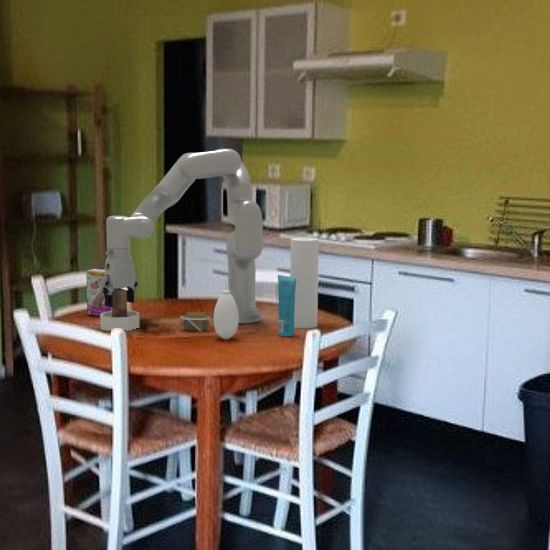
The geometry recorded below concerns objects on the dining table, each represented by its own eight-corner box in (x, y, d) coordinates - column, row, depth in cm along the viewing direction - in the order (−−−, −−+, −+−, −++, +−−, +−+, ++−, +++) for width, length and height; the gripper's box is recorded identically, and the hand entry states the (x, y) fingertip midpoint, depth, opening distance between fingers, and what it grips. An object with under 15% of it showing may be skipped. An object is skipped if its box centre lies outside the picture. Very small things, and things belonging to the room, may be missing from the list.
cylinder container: (285, 323, 278) (285, 236, 273) (309, 321, 282) (310, 235, 277) (297, 329, 269) (298, 239, 265) (322, 326, 273) (323, 238, 269)
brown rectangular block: (127, 325, 270) (126, 289, 268) (121, 326, 268) (121, 290, 266) (117, 323, 273) (117, 288, 271) (112, 324, 271) (111, 289, 269)
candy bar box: (86, 315, 290) (85, 270, 287) (95, 313, 294) (94, 268, 292) (111, 318, 284) (110, 272, 282) (120, 316, 289) (119, 270, 286)
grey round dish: (147, 326, 272) (146, 313, 271) (119, 332, 262) (119, 319, 261) (120, 321, 279) (120, 309, 278) (92, 328, 269) (92, 314, 268)
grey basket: (218, 336, 259) (218, 316, 258) (163, 335, 261) (163, 315, 260) (225, 328, 271) (224, 309, 270) (172, 327, 273) (172, 308, 272)
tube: (300, 335, 260) (300, 276, 257) (292, 337, 256) (292, 278, 253) (280, 332, 264) (280, 274, 261) (272, 335, 260) (272, 276, 257)
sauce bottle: (210, 340, 252) (210, 283, 249) (218, 335, 259) (218, 279, 256) (234, 342, 250) (234, 284, 247) (241, 337, 257) (241, 281, 254)
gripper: (106, 256, 258) (108, 309, 260) (145, 251, 271) (146, 301, 274) (90, 254, 262) (92, 306, 264) (129, 250, 276) (130, 299, 278)
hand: (119, 304), depth 269 cm, fingers open, 9 cm apart
